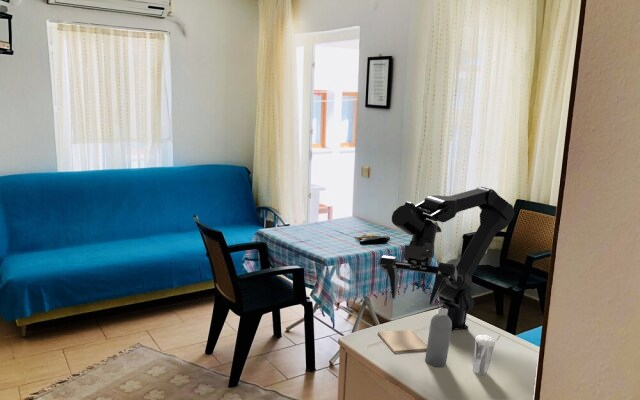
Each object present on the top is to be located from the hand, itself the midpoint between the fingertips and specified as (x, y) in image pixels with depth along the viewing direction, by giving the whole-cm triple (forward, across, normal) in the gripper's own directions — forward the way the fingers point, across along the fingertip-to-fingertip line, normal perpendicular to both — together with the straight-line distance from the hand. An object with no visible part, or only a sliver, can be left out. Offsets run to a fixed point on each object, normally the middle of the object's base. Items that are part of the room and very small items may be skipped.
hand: (411, 301), depth 122 cm
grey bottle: (+12, +6, +9) cm, 16 cm away
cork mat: (+8, -3, +13) cm, 15 cm away
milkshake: (+12, +17, +11) cm, 23 cm away
